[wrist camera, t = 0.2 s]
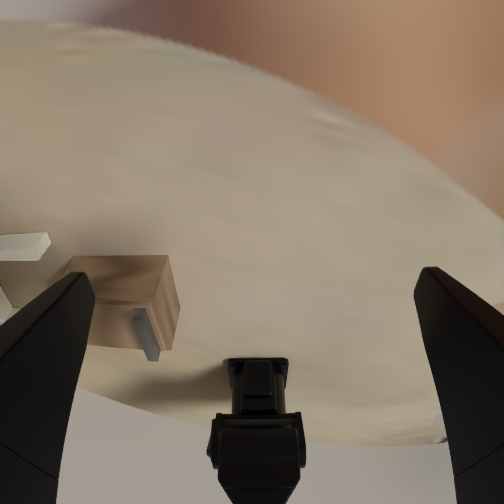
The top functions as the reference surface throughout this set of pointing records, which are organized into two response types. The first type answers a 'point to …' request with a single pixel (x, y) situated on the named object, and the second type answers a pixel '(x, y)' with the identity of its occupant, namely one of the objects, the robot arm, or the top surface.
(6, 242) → the bay
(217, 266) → the top surface
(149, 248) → the top surface
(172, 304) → the block
